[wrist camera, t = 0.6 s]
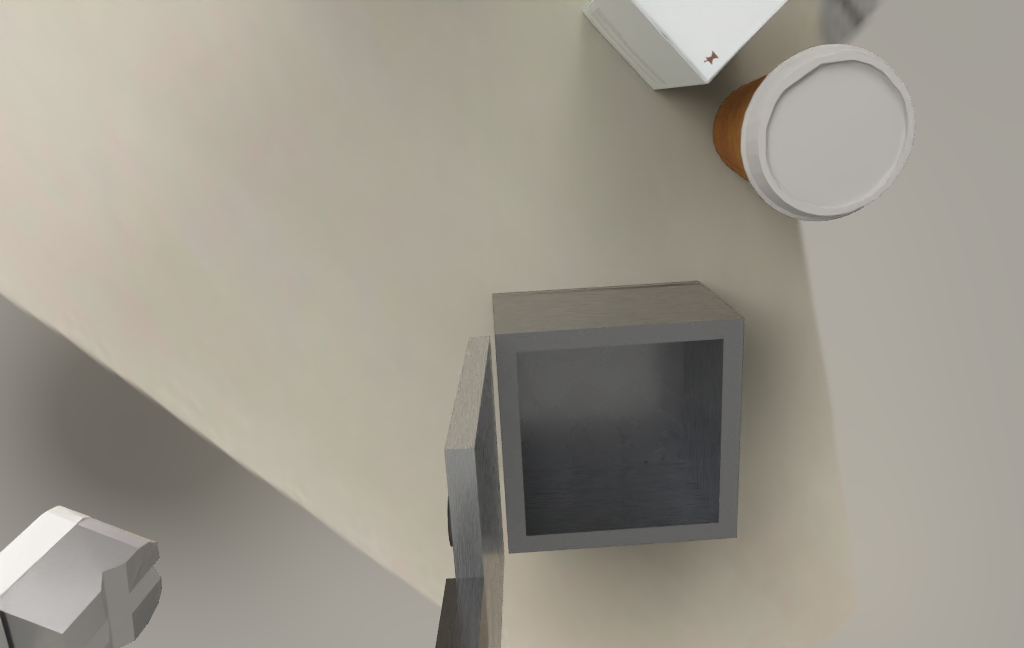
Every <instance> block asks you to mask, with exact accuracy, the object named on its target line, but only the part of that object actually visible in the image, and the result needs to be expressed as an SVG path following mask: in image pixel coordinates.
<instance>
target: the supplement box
mask: <svg viewBox="0 0 1024 648" xmlns="http://www.w3.org/2000/svg"><path fill="white" fill-rule="evenodd" d="M787 1H788V0H591V1H590V3H589V4H588V5H587V6H586V8H585V9H584V11H583V13H584V15H585V16H586V17H587V18H588V19H589V20H590V22H591V23H592V24H593V25H594V26H595V27H596V28H597V30H598V31H599V32H600V33H601V34H602V35H603V36H604V37H605V38H606V39H607V40H608V42H609V43H610V44H611V45H612V46H613V47H614V48H615V49H616V50H617V51H618V52H619V53H620V54H621V56H622V57H623V58H624V59H625V60H626V61H627V62H628V63H629V64H630V65H631V66H632V67H633V68H634V69H635V71H636V72H637V73H638V74H639V75H640V76H641V77H642V78H643V79H644V80H645V81H646V82H647V83H648V84H649V85H650V87H651V88H652V89H653V90H657V89H666V88H676V87H684V86H692V85H702V84H708V83H709V82H710V81H711V80H712V79H713V78H714V77H715V76H716V75H717V74H718V73H719V72H720V71H721V70H722V69H723V68H724V67H725V66H726V65H727V64H728V62H729V61H730V60H731V59H732V58H733V57H734V56H735V55H736V54H737V53H738V52H739V51H740V50H741V49H742V48H743V47H744V46H745V45H746V44H747V43H748V41H749V40H750V39H751V38H752V37H753V36H754V35H755V34H756V33H757V32H758V31H759V30H760V29H761V28H762V27H763V26H764V25H765V24H766V23H767V21H768V20H769V19H770V18H771V17H772V16H773V15H774V14H775V13H776V12H777V11H778V10H779V9H780V8H781V7H782V6H783V5H784V4H785V3H786V2H787Z"/></svg>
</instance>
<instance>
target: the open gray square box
mask: <svg viewBox="0 0 1024 648" xmlns="http://www.w3.org/2000/svg"><path fill="white" fill-rule="evenodd" d="M492 295H493V312H494V329H495V345H496V361H497V376H498V392H499V408H500V423H501V439H502V454H503V470H504V486H505V501H506V517H507V532H508V548H509V553H523V552H538V551H552V550H566V549H580V548H594V547H609V546H623V545H637V544H651V543H666V542H680V541H694V540H708V539H722V538H737V509H738V480H739V450H740V421H741V392H742V362H743V333H744V318H743V317H742V316H740V315H739V314H738V313H737V312H735V311H734V310H733V309H732V308H730V307H729V306H728V305H727V304H726V303H724V302H723V301H722V300H721V299H719V298H718V297H717V296H716V295H715V294H713V293H712V292H711V291H710V290H708V289H707V288H706V287H705V286H704V285H702V284H701V283H700V282H699V281H689V282H673V283H657V284H641V285H625V286H610V287H594V288H578V289H562V290H546V291H530V292H514V293H498V294H492Z"/></svg>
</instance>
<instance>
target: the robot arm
mask: <svg viewBox="0 0 1024 648" xmlns="http://www.w3.org/2000/svg"><path fill="white" fill-rule="evenodd" d="M158 559H159V550H158V543H157V542H154V541H152V540H149V539H146V538H144V537H141V536H138V535H136V534H133V533H130V532H127V531H125V530H122V529H120V528H117V527H114V526H112V525H109V524H106V523H103V522H101V521H98V520H96V519H94V518H92V517H90V516H87V515H84V514H81V513H78V512H76V511H73V510H70V509H67V508H65V507H62V506H59V505H58V506H56V507H54V508H52V509H50V510H48V511H46V512H45V513H43V514H42V515H41V516H40V517H39V518H38V519H36V520H35V521H34V522H33V523H32V524H31V525H30V526H29V527H28V528H27V529H26V530H24V531H23V532H22V533H21V534H20V535H19V536H18V537H17V538H16V539H15V540H14V541H12V542H11V543H10V544H9V545H8V546H7V547H6V548H5V549H4V550H3V551H1V552H0V648H120V647H122V646H124V645H127V644H129V643H131V642H133V641H135V640H136V638H137V637H138V636H139V634H140V633H141V632H142V630H143V629H144V628H145V627H146V625H147V624H148V623H149V621H150V619H151V617H152V615H153V613H154V611H155V609H156V607H157V605H158V603H159V599H160V594H161V590H162V581H161V576H160V575H159V574H158V572H157V571H156V570H155V569H154V567H153V565H154V564H155V563H156V561H157V560H158Z"/></svg>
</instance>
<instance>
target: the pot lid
mask: <svg viewBox="0 0 1024 648" xmlns="http://www.w3.org/2000/svg"><path fill="white" fill-rule="evenodd" d="M445 461H446V472H447V483H448V533H449V541H450V545H451V547H453V552H454V563H455V574H456V578H453V579H446V585H445V591H444V597H443V604H442V610H441V616H440V622H439V629H438V635H437V641H436V648H501V630H502V605H503V579H504V543H503V528H502V513H501V497H500V482H499V467H498V452H497V437H496V422H495V407H494V392H493V376H492V361H491V346H490V336H484V337H470V338H469V342H468V347H467V351H466V356H465V360H464V365H463V369H462V374H461V378H460V383H459V387H458V392H457V396H456V400H455V405H454V409H453V414H452V418H451V423H450V427H449V432H448V436H447V441H446V445H445Z"/></svg>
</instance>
